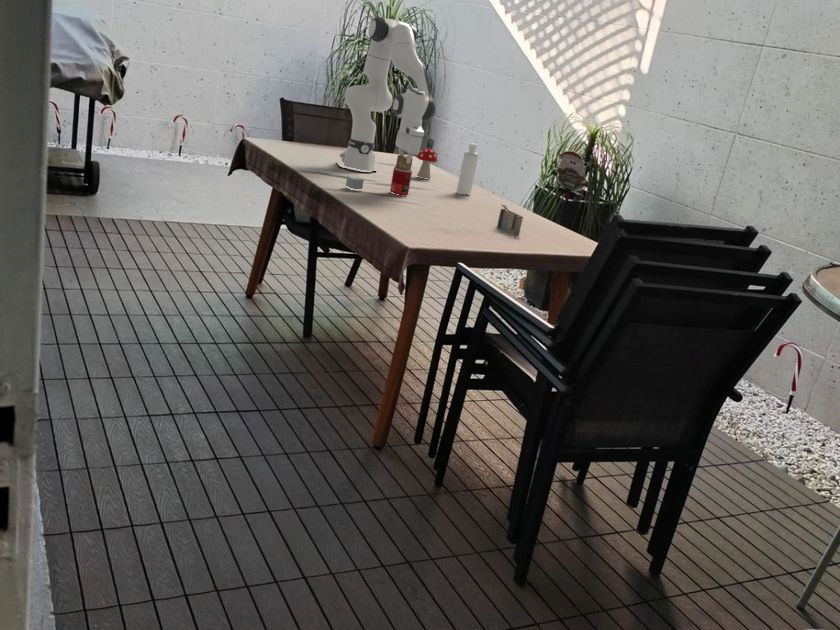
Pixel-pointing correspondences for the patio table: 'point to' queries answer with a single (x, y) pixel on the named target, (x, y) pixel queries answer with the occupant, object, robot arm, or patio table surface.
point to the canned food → (400, 181)
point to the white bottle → (468, 170)
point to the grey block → (354, 182)
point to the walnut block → (403, 163)
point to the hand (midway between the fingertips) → (404, 161)
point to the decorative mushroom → (426, 162)
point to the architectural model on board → (509, 221)
